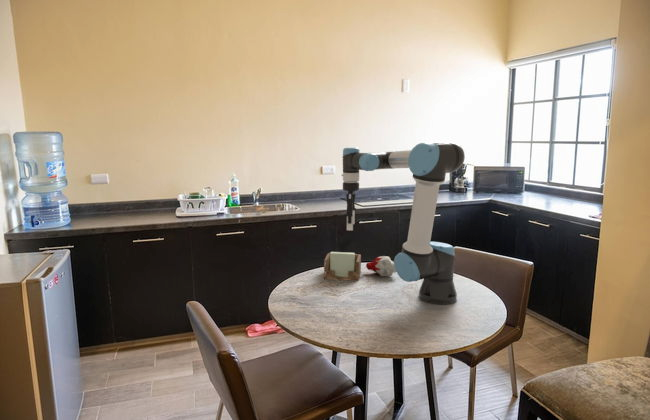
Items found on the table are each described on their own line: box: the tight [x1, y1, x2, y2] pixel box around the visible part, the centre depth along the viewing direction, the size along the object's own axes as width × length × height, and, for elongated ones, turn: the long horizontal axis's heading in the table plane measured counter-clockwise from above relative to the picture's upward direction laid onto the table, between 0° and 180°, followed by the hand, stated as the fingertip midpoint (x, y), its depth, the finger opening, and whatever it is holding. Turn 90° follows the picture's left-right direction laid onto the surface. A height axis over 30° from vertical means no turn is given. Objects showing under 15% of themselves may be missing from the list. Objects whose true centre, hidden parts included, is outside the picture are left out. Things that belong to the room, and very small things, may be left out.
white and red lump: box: [365, 255, 397, 277], centre depth 213 cm, size 9×11×15 cm
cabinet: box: [323, 252, 362, 282], centre depth 210 cm, size 16×13×9 cm
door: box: [329, 251, 356, 277], centre depth 207 cm, size 11×2×11 cm, turn 81°
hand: (350, 227), depth 208 cm, fingers open, 13 cm apart
